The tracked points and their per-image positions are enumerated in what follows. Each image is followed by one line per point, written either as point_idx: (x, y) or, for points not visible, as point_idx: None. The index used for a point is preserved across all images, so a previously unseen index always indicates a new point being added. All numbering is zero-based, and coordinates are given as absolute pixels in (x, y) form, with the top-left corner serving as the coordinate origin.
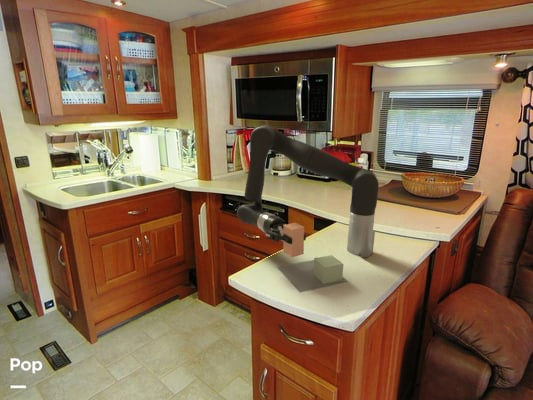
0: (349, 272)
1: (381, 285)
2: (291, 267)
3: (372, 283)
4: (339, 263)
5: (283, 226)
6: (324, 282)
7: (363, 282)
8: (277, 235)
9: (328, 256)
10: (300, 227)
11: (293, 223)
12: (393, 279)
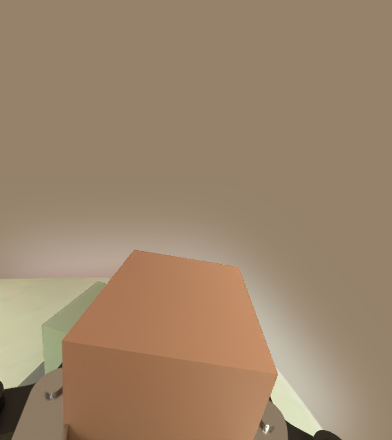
0: (4, 352)
1: (57, 284)
2: None
3: (56, 295)
4: (102, 286)
5: (272, 385)
6: None
7: (61, 306)
8: (336, 438)
9: (63, 326)
10: (162, 256)
11: (118, 332)
12: (13, 280)
